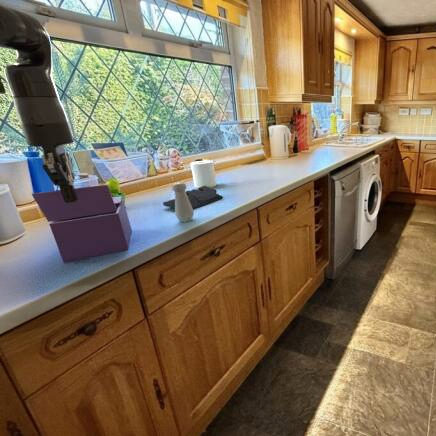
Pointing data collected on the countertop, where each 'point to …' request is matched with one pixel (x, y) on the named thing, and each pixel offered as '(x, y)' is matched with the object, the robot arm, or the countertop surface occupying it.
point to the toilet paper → (203, 173)
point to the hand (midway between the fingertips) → (71, 201)
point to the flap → (76, 203)
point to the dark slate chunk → (198, 197)
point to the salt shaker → (182, 203)
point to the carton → (93, 234)
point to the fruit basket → (115, 188)
